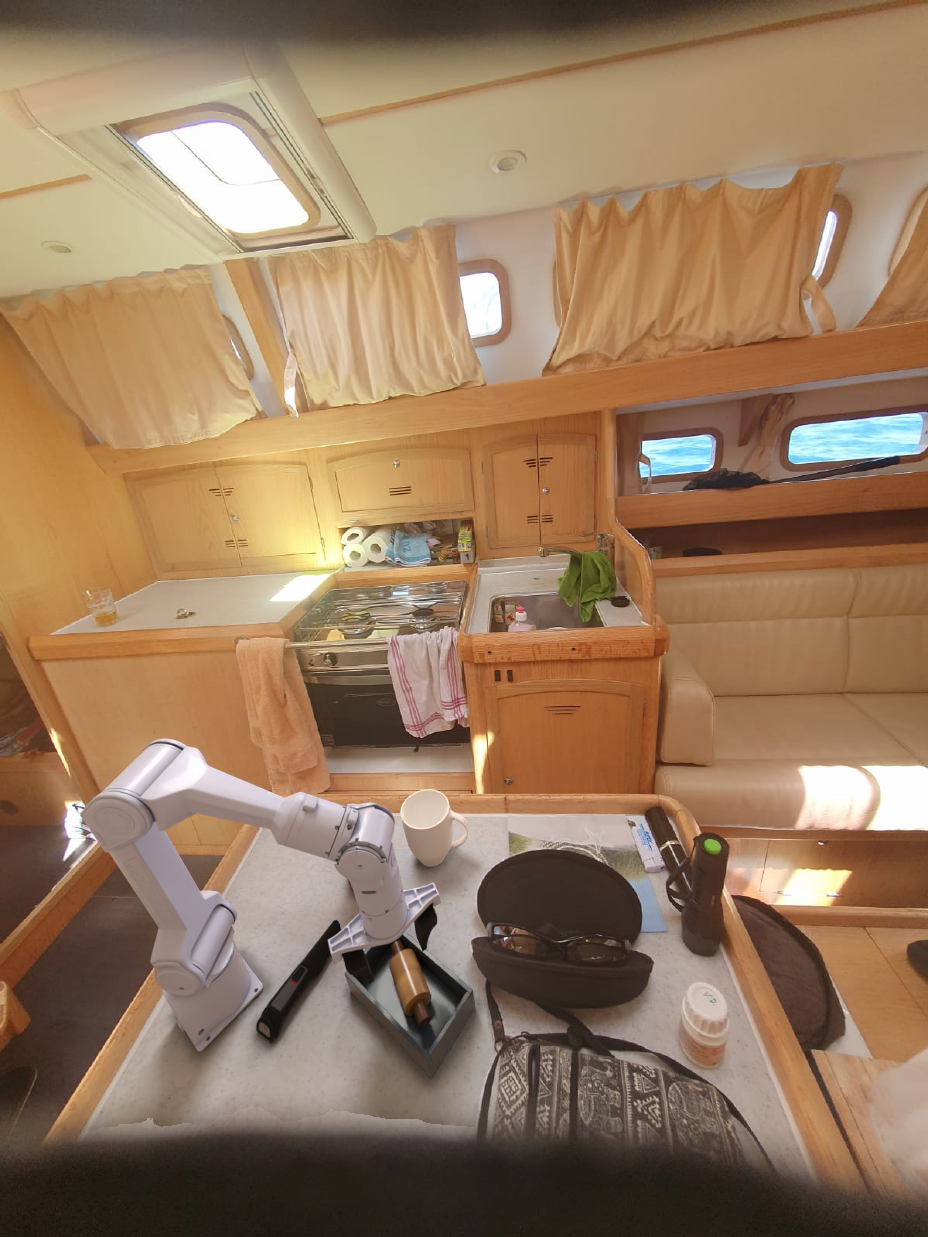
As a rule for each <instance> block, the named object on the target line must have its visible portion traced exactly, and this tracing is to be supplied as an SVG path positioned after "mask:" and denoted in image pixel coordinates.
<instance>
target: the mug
mask: <svg viewBox="0 0 928 1237" xmlns="http://www.w3.org/2000/svg"><path fill="white" fill-rule="evenodd" d="M399 812H400V818H401V823H402V827H403V831H404V832H403V833H404V835H405V839H406V843H407V846H408V848H409V850H410V851H411V853H412V854H413V856H415V857H416V858H417V859H418V860H419V862H420V863H421V864H422V865H424V866H426V867H429V868H434V867H437V866H440V865H441V864H442V863H443V862H444V860H445V859H446V857H447V855H448V853H449V852H450V850H451V849H457V848H459V847H461V846H462V845H463V844H465V843H466V841H467V839H468V834H469V825H468V822H467V820H466V819H465V817H464V816H462V815H461V814H460V813H458V812H455V811H453V810H452V809H451V807H450V802H449V799H448V797H447V796H446V795H445V794H444V793H443V792H441V791H439V790H436V789H430V788H428V789H427V788H425V789H420V790H418V791H415V792H413V793H412V794H410V795H409V796H408V797H407V798H406V799H405V800H403V803H402V805H401V807H400V811H399ZM453 821H456V822H457V823H459V824H461V825H462V826H463V827H464V828H465V831H466V832H465V834H464V835H463V836H462V837H460V838H458V839H456V840H454V826H453Z"/></svg>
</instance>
